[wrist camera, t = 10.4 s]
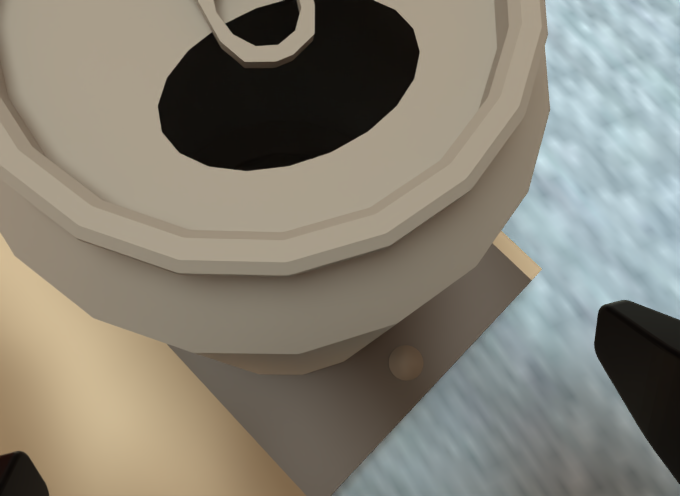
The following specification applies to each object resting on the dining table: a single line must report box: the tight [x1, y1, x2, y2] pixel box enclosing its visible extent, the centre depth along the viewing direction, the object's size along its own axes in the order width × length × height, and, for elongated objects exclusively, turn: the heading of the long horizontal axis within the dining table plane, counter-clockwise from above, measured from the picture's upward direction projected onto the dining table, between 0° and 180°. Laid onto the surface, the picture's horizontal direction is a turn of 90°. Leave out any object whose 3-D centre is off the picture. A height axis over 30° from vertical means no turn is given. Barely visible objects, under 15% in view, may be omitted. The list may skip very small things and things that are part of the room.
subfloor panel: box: [0, 231, 542, 496], centre depth 17 cm, size 18×12×2 cm, turn 135°
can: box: [0, 0, 550, 375], centre depth 11 cm, size 8×8×12 cm
